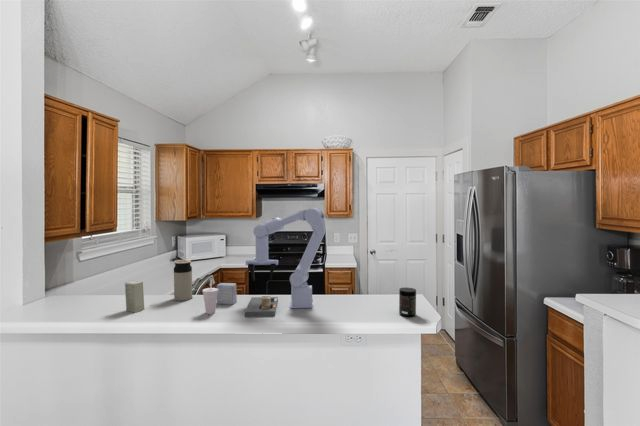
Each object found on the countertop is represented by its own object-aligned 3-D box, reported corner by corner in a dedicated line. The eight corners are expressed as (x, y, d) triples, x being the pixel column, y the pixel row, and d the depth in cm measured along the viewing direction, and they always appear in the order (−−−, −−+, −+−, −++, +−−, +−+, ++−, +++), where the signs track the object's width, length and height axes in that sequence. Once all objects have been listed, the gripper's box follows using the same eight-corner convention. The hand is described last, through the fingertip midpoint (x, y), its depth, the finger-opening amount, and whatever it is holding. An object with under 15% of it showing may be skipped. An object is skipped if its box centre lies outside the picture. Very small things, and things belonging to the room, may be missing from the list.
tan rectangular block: (270, 310, 148) (270, 296, 148) (269, 312, 144) (269, 298, 144) (262, 310, 148) (262, 296, 147) (261, 312, 144) (261, 298, 144)
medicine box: (236, 301, 160) (236, 283, 159) (233, 304, 155) (233, 285, 155) (220, 301, 160) (220, 282, 160) (216, 304, 156) (216, 285, 156)
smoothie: (221, 310, 147) (221, 278, 146) (212, 315, 141) (211, 281, 140) (209, 309, 149) (208, 277, 148) (199, 314, 143) (198, 280, 142)
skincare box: (144, 309, 148) (143, 281, 148) (135, 312, 144) (134, 284, 144) (134, 307, 151) (133, 280, 151) (125, 310, 147) (124, 282, 146)
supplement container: (417, 313, 143) (417, 288, 142) (413, 318, 137) (414, 292, 136) (401, 311, 146) (401, 286, 146) (397, 316, 140) (397, 290, 140)
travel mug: (183, 301, 159) (183, 263, 159) (170, 300, 162) (169, 261, 162) (196, 297, 167) (195, 260, 166) (183, 295, 170) (182, 259, 169)
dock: (277, 301, 160) (277, 296, 160) (274, 316, 140) (274, 310, 140) (251, 301, 160) (251, 296, 159) (244, 316, 140) (244, 311, 139)
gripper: (244, 252, 152) (244, 283, 153) (277, 252, 153) (277, 282, 154) (246, 249, 159) (246, 279, 160) (278, 249, 160) (278, 278, 161)
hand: (262, 280), depth 157 cm, fingers open, 7 cm apart
